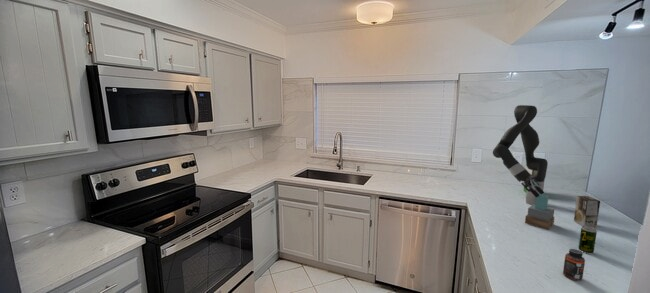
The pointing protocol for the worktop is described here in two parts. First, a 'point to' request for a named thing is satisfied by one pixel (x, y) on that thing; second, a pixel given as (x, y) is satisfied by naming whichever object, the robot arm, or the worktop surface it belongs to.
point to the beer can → (587, 239)
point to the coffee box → (586, 211)
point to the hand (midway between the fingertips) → (540, 194)
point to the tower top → (541, 213)
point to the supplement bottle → (574, 264)
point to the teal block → (541, 202)
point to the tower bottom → (539, 222)
